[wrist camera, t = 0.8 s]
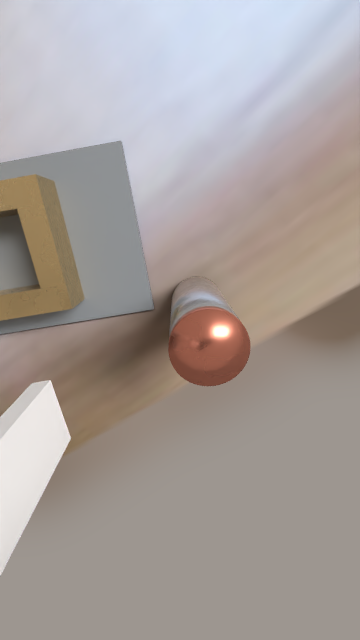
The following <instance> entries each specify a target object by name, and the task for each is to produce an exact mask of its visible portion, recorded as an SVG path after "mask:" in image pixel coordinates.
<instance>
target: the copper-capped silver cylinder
mask: <svg viewBox="0 0 360 640" xmlns="http://www.w3.org/2000/svg"><path fill="white" fill-rule="evenodd" d="M168 351H169V357H170V361H171V363H172V365H173V367H174V369H175V370H176V371H177V373H178V374H179V375H180V376H181V377H183V378H184V379H185V380H187V381H189V382H191V383H193V384H197V385H202V386H216V385H220V384H223V383H226V382H228V381H230V380H231V379H233V378H234V377H236V376H237V375H238V374H239V373H240V372H241V371H242V369H243V368H244V367H245V365H246V363H247V361H248V358H249V354H250V339H249V336H248V333H247V331H246V329H245V327H244V326H243V324H242V323H241V321H240V320H239V318H238V317H237V315H236V314H235V312H234V311H233V309H232V308H231V306H230V305H229V303H228V302H227V301H226V299H225V298H224V296H223V295H222V293H221V292H220V290H219V289H218V287H217V286H216V285H215V284H214V283H213V282H212V281H211V280H209V279H207V278H204V277H199V276H195V277H190V278H187V279H185V280H183V281H182V282H181V283H179V284H178V286H177V287H176V288H175V290H174V292H173V296H172V305H171V319H170V333H169V349H168Z"/></svg>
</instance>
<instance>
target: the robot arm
mask: <svg viewBox="0 0 360 640" xmlns="http://www.w3.org/2000/svg"><path fill="white" fill-rule="evenodd" d="M70 439H71V437H70V434H69V431H68V429H67V426H66V423H65V420H64V417H63V414H62V412H61V409H60V406H59V403H58V400H57V397H56V395H55V392H54V389H53V386H52V383H51V380H48V381H42V382H37V383H32V384H31V385H30V386H29V387H28V388H27V389H26V390H25V391H24V392H23V393H22V394H21V395H20V397H19V398H18V399H17V400H16V401H15V402H14V403H13V404H12V405H11V406H10V407H9V408H8V409H7V410H6V411H5V412H4V414H3V415H2V416H1V417H0V575H1V573H2V571H3V570H4V568H5V566H6V564H7V561H8V560H9V558H10V556H11V554H12V552H13V550H14V548H15V546H16V544H17V542H18V540H19V538H20V536H21V535H22V533H23V531H24V529H25V527H26V525H27V523H28V521H29V519H30V517H31V515H32V513H33V511H34V509H35V507H36V505H37V503H38V501H39V500H40V498H41V496H42V494H43V492H44V490H45V488H46V486H47V484H48V482H49V480H50V478H51V476H52V474H53V472H54V470H55V468H56V466H57V465H58V463H59V461H60V459H61V457H62V455H63V453H64V451H65V449H66V447H67V445H68V443H69V441H70Z"/></svg>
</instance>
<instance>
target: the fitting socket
mask: <svg viewBox="0 0 360 640" xmlns="http://www.w3.org/2000/svg"><path fill="white" fill-rule="evenodd" d="M17 214H19V217H20V221H21V224H22V227H23V231H24V234H25V237H26V241H27V244H28V248H29V251H30V254H31V258H32V261H33V264H34V268H35V271H36V274H37V278H38V281H39V284H36V285H30V286H24V287H18V288H12V289H6V290H0V321H2V320H8V319H14V318H20V317H26V316H32V315H38V314H44V313H50V312H56V311H62V310H68V309H73V308H74V307H75V306H76V305H78V304H79V303H80V302H81V301H83V300H84V299H85V298H84V294H83V290H82V286H81V282H80V278H79V274H78V270H77V267H76V263H75V259H74V255H73V251H72V247H71V243H70V240H69V236H68V232H67V228H66V224H65V220H64V216H63V213H62V209H61V205H60V201H59V197H58V193H57V189H56V185H55V182H54V181H53V180H50V179H47V178H45V177H42V176H39V175H36V174H33V175H28V176H22V177H17V178H11V179H6V180H0V217H5V216H11V215H17Z"/></svg>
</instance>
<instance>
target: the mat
mask: <svg viewBox="0 0 360 640" xmlns="http://www.w3.org/2000/svg"><path fill="white" fill-rule="evenodd" d="M33 174H36V175H39V176H42V177H45V178H47V179H50V180H53V181H54V182H55V185H56V189H57V193H58V197H59V201H60V205H61V209H62V213H63V216H64V220H65V224H66V228H67V232H68V236H69V240H70V243H71V247H72V251H73V255H74V259H75V263H76V267H77V270H78V274H79V278H80V282H81V286H82V290H83V294H84V298H85V299H84V300H83V301H81V302H80V303H79V304H78V305H76V306H75V307H74V308H73V309H68V310H62V311H56V312H50V313H44V314H38V315H32V316H26V317H20V318H14V319H8V320H2V321H0V334H5V333H11V332H18V331H24V330H30V329H36V328H42V327H48V326H54V325H60V324H67V323H73V322H79V321H85V320H91V319H97V318H103V317H109V316H116V315H122V314H128V313H134V312H140V311H146V310H152V309H154V304H153V299H152V294H151V289H150V284H149V279H148V274H147V269H146V264H145V258H144V253H143V248H142V243H141V238H140V233H139V228H138V223H137V218H136V212H135V207H134V202H133V197H132V192H131V187H130V182H129V177H128V172H127V166H126V161H125V156H124V151H123V146H122V142H121V141H116V142H111V143H106V144H100V145H95V146H89V147H84V148H79V149H73V150H68V151H62V152H57V153H52V154H46V155H41V156H35V157H30V158H25V159H19V160H14V161H8V162H3V163H0V180H6V179H11V178H17V177H22V176H28V175H33ZM36 284H39V281H38V278H37V274H36V271H35V268H34V264H33V261H32V258H31V254H30V251H29V248H28V244H27V241H26V237H25V234H24V231H23V227H22V224H21V221H20V217H19V214H17V215H11V216H5V217H0V290H6V289H12V288H18V287H24V286H30V285H36Z"/></svg>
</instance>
